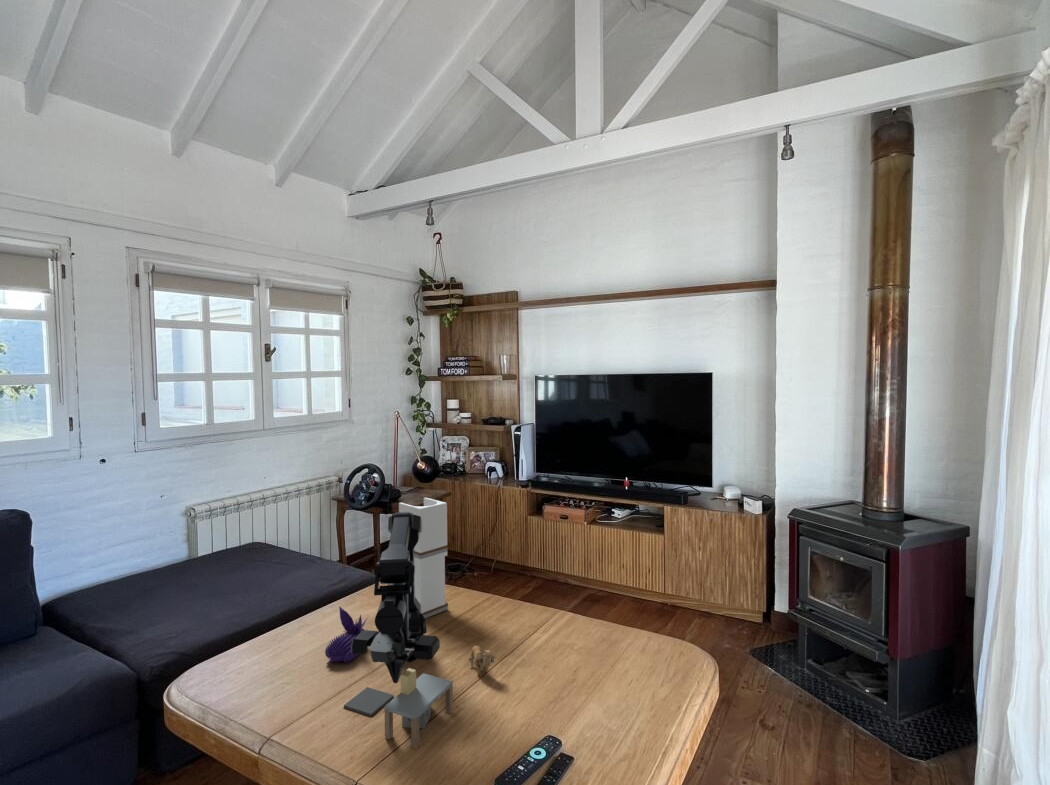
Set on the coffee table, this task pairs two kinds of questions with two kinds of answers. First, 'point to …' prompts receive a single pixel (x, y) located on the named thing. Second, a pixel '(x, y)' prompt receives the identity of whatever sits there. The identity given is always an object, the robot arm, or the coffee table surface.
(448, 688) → the small grey table
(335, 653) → the creature
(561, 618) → the coffee table surface
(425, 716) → the dice cube
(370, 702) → the mat
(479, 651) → the lion figurine
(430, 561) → the white square tower
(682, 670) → the coffee table surface
